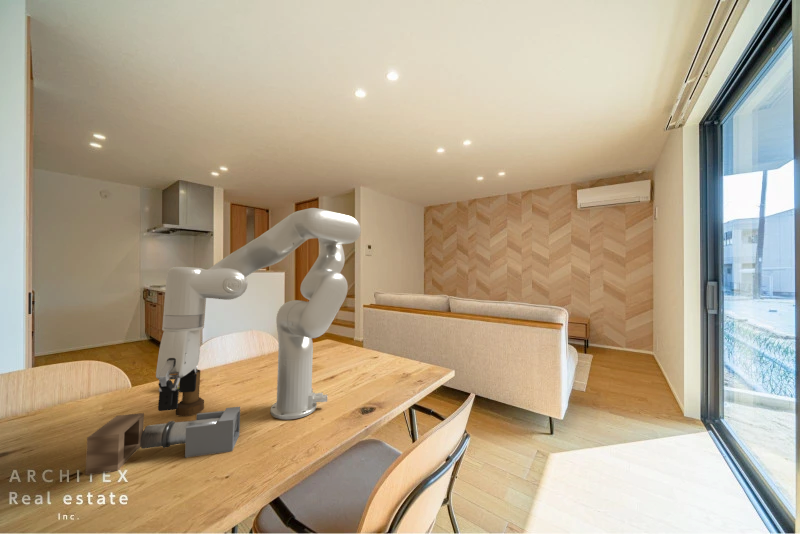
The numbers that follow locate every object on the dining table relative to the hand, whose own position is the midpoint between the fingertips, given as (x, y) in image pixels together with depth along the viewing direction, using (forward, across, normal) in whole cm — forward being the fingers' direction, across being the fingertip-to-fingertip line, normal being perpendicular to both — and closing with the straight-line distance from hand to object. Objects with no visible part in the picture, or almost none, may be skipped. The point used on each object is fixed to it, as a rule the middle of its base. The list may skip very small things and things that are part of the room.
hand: (178, 400), depth 64 cm
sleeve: (+11, -1, +8) cm, 13 cm away
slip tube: (+10, -1, +3) cm, 10 cm away
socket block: (+12, -1, -10) cm, 16 cm away
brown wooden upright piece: (+11, -21, -4) cm, 24 cm away
